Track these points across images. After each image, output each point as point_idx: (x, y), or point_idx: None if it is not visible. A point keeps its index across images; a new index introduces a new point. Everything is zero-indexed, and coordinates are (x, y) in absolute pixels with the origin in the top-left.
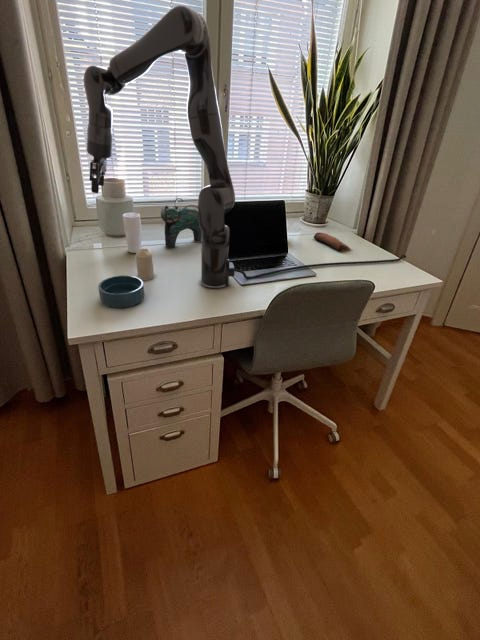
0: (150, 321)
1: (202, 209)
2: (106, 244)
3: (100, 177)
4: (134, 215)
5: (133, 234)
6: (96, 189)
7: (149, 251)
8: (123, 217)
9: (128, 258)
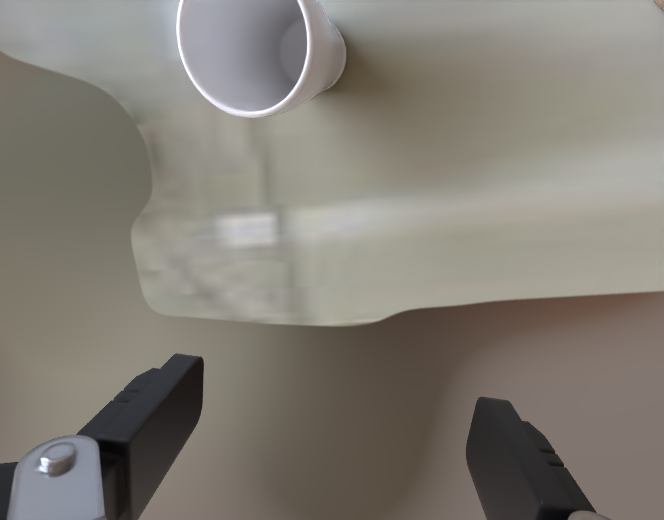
0: None
1: None
2: (231, 198)
3: (153, 457)
4: (192, 21)
5: (335, 43)
6: (551, 449)
7: None
8: (283, 108)
9: (408, 86)
